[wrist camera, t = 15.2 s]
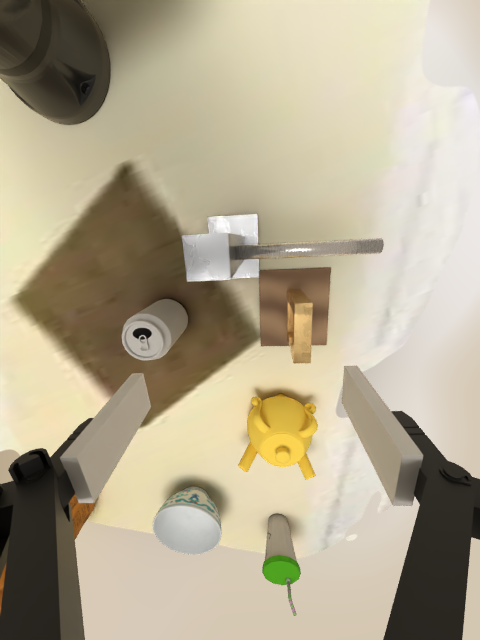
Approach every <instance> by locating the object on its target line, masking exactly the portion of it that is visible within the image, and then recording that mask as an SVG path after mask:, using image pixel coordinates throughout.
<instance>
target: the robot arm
mask: <svg viewBox="0 0 480 640" xmlns="http://www.w3.org/2000/svg"><path fill="white" fill-rule="evenodd" d="M0 78H1V79H2V80H3V81H4V82H5V83H6V84H8V86H9V87H10V88H11V90H12V91H13V92H14V93H15V95H16V96H17V97H18V98H19V99H20V100H21V101H22V102H23V103H24V104H26V105H27V106H28V107H29V108H31V109H32V110H33V111H35V112H37V113H38V114H40V115H42V116H44V117H45V118H47V119H49V120H51V121H54V122H56V123H60V124H77V123H80V122H83V121H85V120H87V119H89V118H90V117H91V116H92V115H94V114H95V113H96V111H97V110H98V109H99V108H100V106H101V104H102V103H103V101H104V99H105V96H106V93H107V90H108V86H109V79H110V62H109V55H108V50H107V46H106V43H105V40H104V37H103V35H102V33H101V31H100V29H99V27H98V25H97V23H96V22H95V20H94V19H93V17H92V16H91V15H90V13H89V12H88V11H87V9H86V8H85V7H84V5H83V4H82V3H81V1H80V0H0ZM342 404H343V406H344V408H345V410H346V412H347V414H348V416H349V418H350V420H351V422H352V424H353V426H354V428H355V430H356V432H357V434H358V436H359V438H360V440H361V442H362V444H363V446H364V448H365V450H366V452H367V454H368V456H369V458H370V460H371V462H372V464H373V466H374V468H375V470H376V472H377V474H378V476H379V478H380V480H381V482H382V484H383V486H384V488H385V490H386V492H387V495H388V497H389V499H390V501H391V503H392V505H394V506H395V505H396V506H402V505H403V506H411V505H413V500H414V496H415V497H416V499H417V500H418V502H419V504H420V506H419V510H418V514H417V518H416V521H415V525H414V529H413V532H412V536H411V540H410V544H409V547H408V551H407V555H406V558H405V562H404V566H403V569H402V573H401V577H400V581H399V584H398V588H397V592H396V595H395V599H394V603H393V606H392V610H391V614H390V617H389V621H388V625H387V629H386V632H385V636H384V640H462V635H463V624H464V612H465V600H466V590H467V577H468V566H469V555H470V543H471V537H473V538H476V539H479V540H480V479H477V478H474V477H472V476H471V475H470V473H468V472H467V471H466V470H465V469H464V468H462V467H460V466H459V465H457V464H455V463H452V462H449V461H447V460H446V459H445V457H444V456H443V455H442V454H441V452H440V451H439V450H438V449H437V448H436V446H435V445H434V444H433V443H432V442H431V440H430V439H429V438H428V437H427V436H426V435H425V433H424V432H423V431H422V430H421V428H419V426H418V425H417V423H416V422H415V421H414V420H413V419H412V418H411V417H410V416H408V415H407V414H405V413H404V412H402V411H390V409H389V408H388V407H387V406H386V404H385V403H384V401H383V400H382V399H381V397H380V396H379V395H378V393H377V392H376V391H375V389H374V388H373V387H372V385H371V384H370V383H369V381H368V380H367V379H366V377H365V376H364V375H363V373H362V372H361V370H360V369H359V368H358V366H344V378H343V393H342ZM150 408H151V405H150V400H149V396H148V392H147V388H146V383H145V379H144V375H143V373H133V374H131V375H130V377H129V378H128V379H127V380H126V381H125V382H124V384H123V385H122V386H121V387H120V388H119V389H118V391H117V392H116V393H115V394H114V395H113V396H112V398H111V399H110V400H109V401H108V402H107V403H106V405H105V406H104V407H103V408H102V409H101V410H100V412H99V413H98V414H97V415H96V416H95V417H94V418H89V419H87V420H86V421H85V422H83V423H82V424H80V425H79V426H78V427H77V429H76V430H75V431H74V432H73V434H71V435H70V436H69V437H68V439H67V440H66V441H65V442H64V443H63V444H62V445H61V446H60V447H59V449H58V450H57V451H56V452H55V453H54V454H53V455H52V456H51V457H49V455H48V452H47V450H46V449H43V448H40V449H35V450H32V451H29V452H27V453H25V454H23V455H22V456H20V457H19V458H18V459H16V460H15V461H14V462H13V463H12V464H11V465H10V468H9V472H10V474H11V476H12V478H13V480H14V481H11V482H8V483H4V484H0V578H1V575H2V573H3V570H4V567H5V565H6V571H5V579H4V587H3V596H2V604H1V612H0V640H85V637H84V626H83V617H82V608H81V597H80V587H79V578H78V568H77V558H76V548H75V539H74V529H73V519H72V509H71V505H70V503H69V502H70V500H71V499H72V497H73V496H74V494H75V495H76V498H77V500H78V502H79V503H95V501H96V499H97V498H98V496H99V494H100V493H101V491H102V489H103V488H104V486H105V484H106V483H107V481H108V479H109V477H110V476H111V474H112V472H113V471H114V469H115V467H116V466H117V464H118V462H119V460H120V459H121V457H122V455H123V454H124V452H125V450H126V449H127V447H128V445H129V444H130V442H131V440H132V438H133V437H134V435H135V433H136V432H137V430H138V428H139V427H140V425H141V423H142V421H143V420H144V418H145V416H146V415H147V413H148V411H149V410H150Z"/></svg>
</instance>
